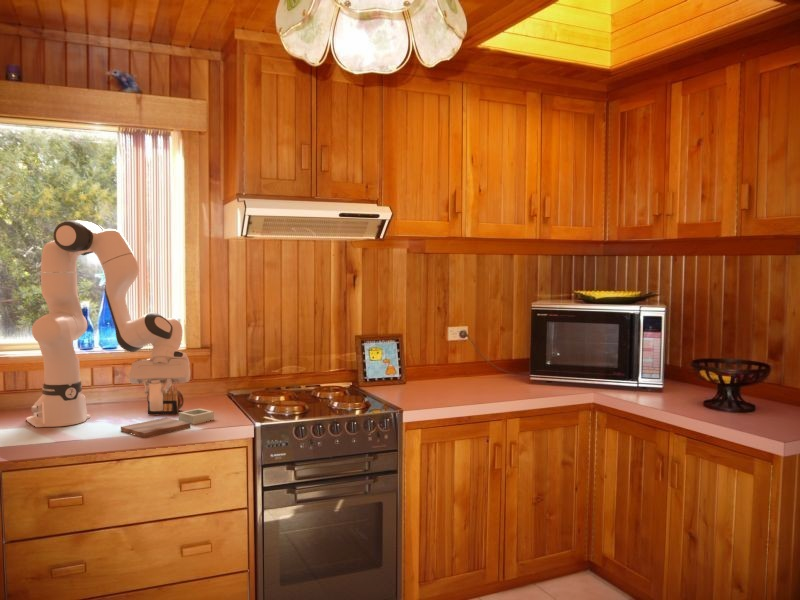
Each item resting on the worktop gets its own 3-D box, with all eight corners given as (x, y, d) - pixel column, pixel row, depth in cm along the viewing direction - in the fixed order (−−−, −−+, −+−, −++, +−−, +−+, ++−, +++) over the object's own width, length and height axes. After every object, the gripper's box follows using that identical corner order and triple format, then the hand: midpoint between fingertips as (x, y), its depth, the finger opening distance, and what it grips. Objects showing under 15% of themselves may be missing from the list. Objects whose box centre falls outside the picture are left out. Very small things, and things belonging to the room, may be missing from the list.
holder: (178, 420, 230) (178, 412, 230) (199, 416, 237) (199, 408, 237) (193, 424, 225) (193, 415, 225) (214, 419, 232) (213, 411, 232)
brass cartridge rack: (184, 410, 247) (184, 388, 247) (179, 412, 244) (178, 390, 244) (151, 408, 252) (150, 386, 252) (145, 409, 249) (145, 388, 249)
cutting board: (121, 431, 216) (120, 426, 216) (166, 421, 230) (166, 417, 230) (144, 437, 208) (144, 433, 208) (190, 427, 221) (190, 423, 221)
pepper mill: (147, 410, 218) (146, 380, 217) (158, 407, 221) (157, 378, 221) (154, 411, 215) (153, 381, 215) (165, 409, 219) (164, 380, 218)
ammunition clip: (178, 413, 243) (178, 381, 243) (177, 414, 242) (176, 382, 241) (149, 413, 242) (148, 381, 242) (147, 414, 241) (147, 382, 240)
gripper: (130, 354, 224) (120, 387, 215) (190, 353, 225) (183, 386, 216) (135, 365, 228) (126, 398, 219) (194, 364, 229) (187, 396, 220)
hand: (155, 392), depth 217 cm, fingers closed on pepper mill, 4 cm apart
